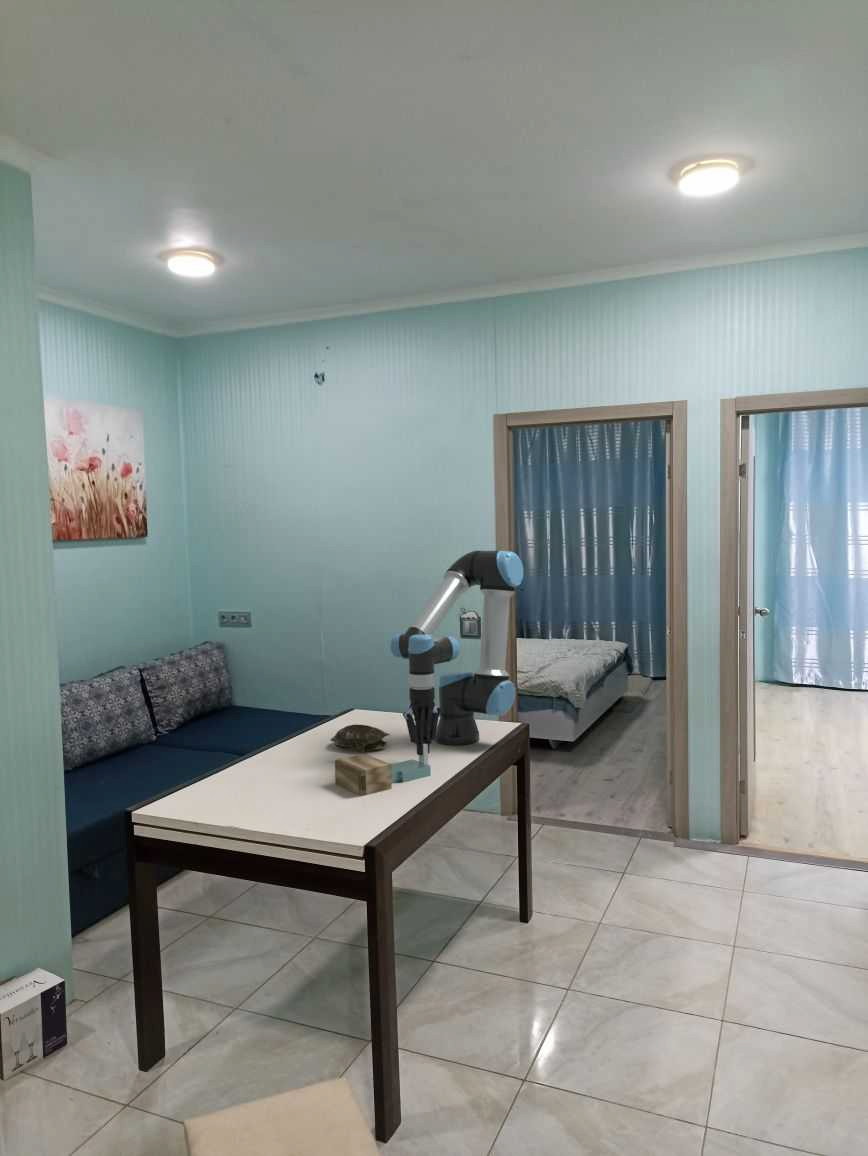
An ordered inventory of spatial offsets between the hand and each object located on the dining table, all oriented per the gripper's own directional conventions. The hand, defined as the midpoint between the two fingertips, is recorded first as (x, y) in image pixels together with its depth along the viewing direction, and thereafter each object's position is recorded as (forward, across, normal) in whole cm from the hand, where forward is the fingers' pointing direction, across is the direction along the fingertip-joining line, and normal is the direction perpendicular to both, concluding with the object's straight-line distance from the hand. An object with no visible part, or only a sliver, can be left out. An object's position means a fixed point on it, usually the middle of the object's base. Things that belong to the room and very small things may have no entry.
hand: (423, 764), depth 258 cm
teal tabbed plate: (+2, +8, 0) cm, 8 cm away
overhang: (+2, +21, 0) cm, 21 cm away
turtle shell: (+2, -1, -37) cm, 37 cm away
